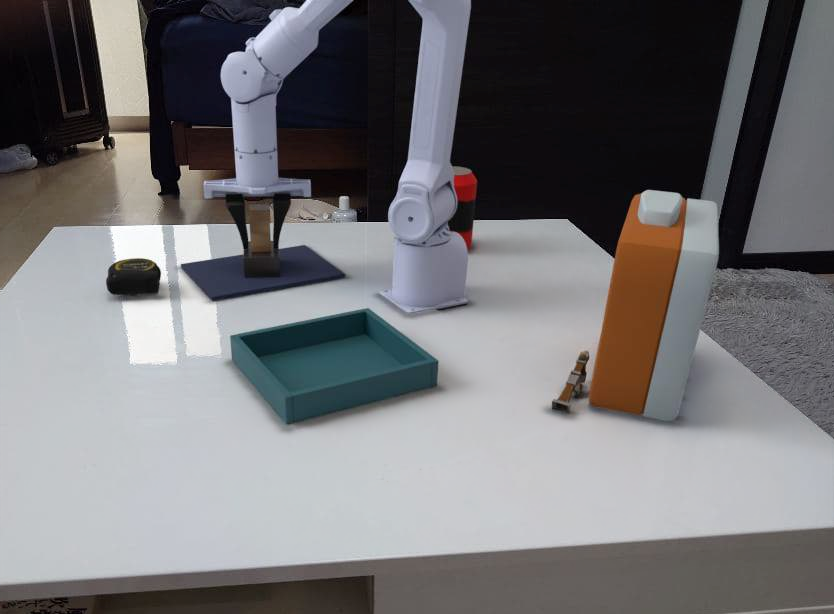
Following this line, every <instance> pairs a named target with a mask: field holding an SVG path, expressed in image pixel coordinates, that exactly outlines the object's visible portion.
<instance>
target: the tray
mask: <svg viewBox="0 0 834 614" xmlns="http://www.w3.org/2000/svg"><path fill="white" fill-rule="evenodd" d="M229 341H230V351H231V352H230V353H231V361H232V362H233V363H234V364H235V365H236V367H237V368H238V370H240V372H241V373H242V374H243V375H244V377H246V379H247V380H248V381H249V382H250V383H251V385H252V386H253V387H254V388H255V389H256V391H257V392H258V393H259V395H261V397H263V399H264V400H265V401H266V402H267V404H268V405H269V406H270V407H271V408H272V409H273V411H274V412H275V413H276V414H277V415H278V417H279V418H280V419H281V420H282V422H284V424H285V425H290V424H294V423H298V422H302V421H306V420H310V419H314V418H317V417H318V418H319V417H321V416H326V415H329V414H333V413H336V412H341V411H345V410H348V409H352V408H356V407H360V406H364V405H368V404H372V403H375V402H380V401H383V400H387V399H392V398H395V397H398V396H403V395H407V394H411V393H415V392H418V391H423V390H426V389H430V388H435V387H437V386H438V377H439V375H438V374H439V373H438V372H439V361H440V360H439V359H437V358H436V357H435V356H433V355H432V354H430V353H429V352H428V351H427V350H425V349H424V348H423V347H421V346H420V345H418V344H417V343H416V342H415V341H413V340H412V339H411V338H409V337H408V336H406V335H405V334H404V333H402V332H401V331H400V330H398V329H397V328H396V327H395V326H393V325H392V324H391V323H389V322H388V321H387V320H385V319H384V318H382V317H381V316H380V315H378V314H377V313H376V312H375V311H373V310H372V309H370V308H369V307H367V308H366V307H365V308H361V309H355V310H351V311H346V312H340V313H336V314H331V315H326V316H319V317H316V318H311V319H305V320H300V321H295V322H291V323H286V324H281V325H275V326H270V327H265V328H261V329H256V330H251V331H250V330H249V331H244V332H241V333H236V334H231V335H230V336H229Z"/></svg>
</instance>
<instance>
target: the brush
mask: <svg viewBox="0 0 834 614" xmlns="http://www.w3.org/2000/svg"><path fill="white" fill-rule="evenodd" d="M248 219H249V220H248V221H249V236H250V240H248V249H243V254H242V255H243V262H244V277H245V278H253V277H280V263H279V249H280V248H278V249H274V246H273V240H272V239H271V237H272V236H271V219H270V204H268V203H267V204H249V205H248Z"/></svg>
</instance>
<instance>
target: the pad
mask: <svg viewBox="0 0 834 614" xmlns="http://www.w3.org/2000/svg"><path fill="white" fill-rule="evenodd" d="M279 263H280V277H253V278H245V277H244V262H243V254H238V255H231V256H224V257H217V258H210V259H205V260H197V261H192V262H185V263H181V264H180V268H181V269H182V270H183V272H184V273H186V275H187V276H188V277H189V278H190V280H192V281H193V282H194V284H196V285H197V286H198V288H199V289H200V290H201V291H202V292H203V293H204V294H205V295H206V296H207V298H209V300H211V302H214V301H221V300H226V299H231V298H237V297H243V296H247V295H253V294H259V293H260V294H261V293H264V292H272V291H277V290H282V289H287V288H292V287H298V286H304V285H311V284H316V283H322V282H326V281H332V280H338V279H339V280H340V279H343V278H346V273H345V272H343V271H342V270H341V269H339V268H338V267H337V266H335V265H333V264H332V263H331V262H330V261H328V260H327V259H325V258H324V257H323V256H321V255H320V254H318V253H317V252H315V251H314V250H313V249H311V248H310V247H309V246H307V245H305V244H302V245H296V246H289V247H282V248H279Z"/></svg>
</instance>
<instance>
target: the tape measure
mask: <svg viewBox="0 0 834 614" xmlns="http://www.w3.org/2000/svg"><path fill="white" fill-rule="evenodd" d="M161 277H162V270H161V268H160V267H159V266H158V264H157V262H155V261H153V259H149V258H142V257H137V258H135V257H134V258H125V259H120V260H118V261H115V262H113V263H112V264H111V265H110V266H109V267H108V269H107V277H106V280H105V284H106V285H105V286H106V290H107V291H108V292H109V293H110V294H112V295H114V296H115V295H116V296H131V297H136V296H139V295H149V294H151V295H153V294H154V295H155V294H159V293H160V285H161Z"/></svg>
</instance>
